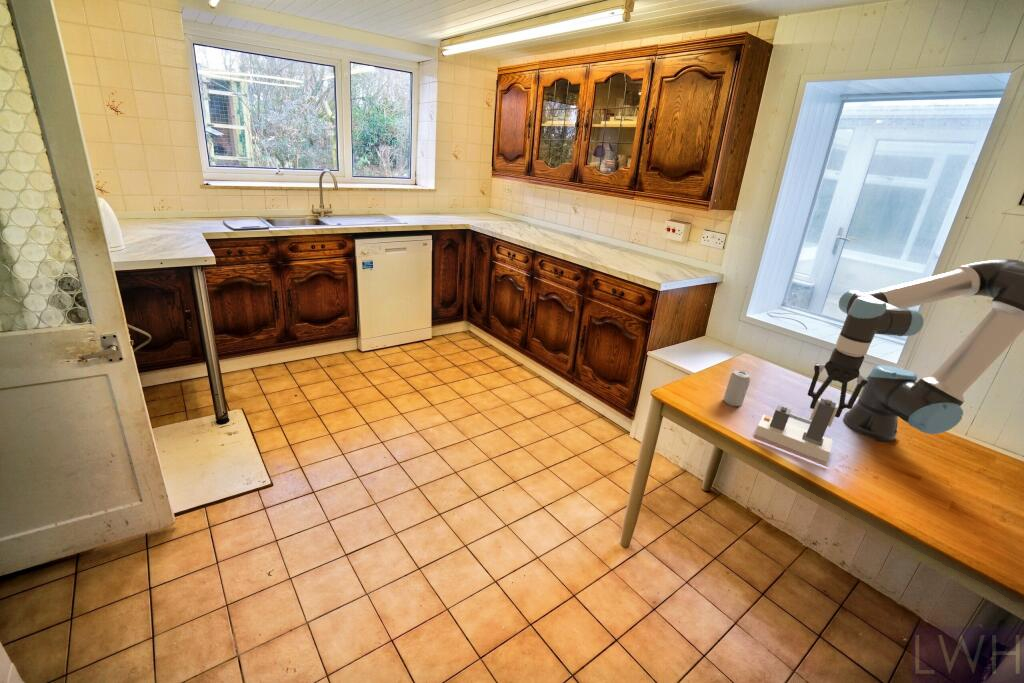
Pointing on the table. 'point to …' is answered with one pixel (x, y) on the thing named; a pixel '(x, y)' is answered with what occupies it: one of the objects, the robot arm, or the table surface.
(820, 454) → the strip
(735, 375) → the beverage can
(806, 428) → the tray
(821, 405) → the plug
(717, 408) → the table surface
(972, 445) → the table surface
